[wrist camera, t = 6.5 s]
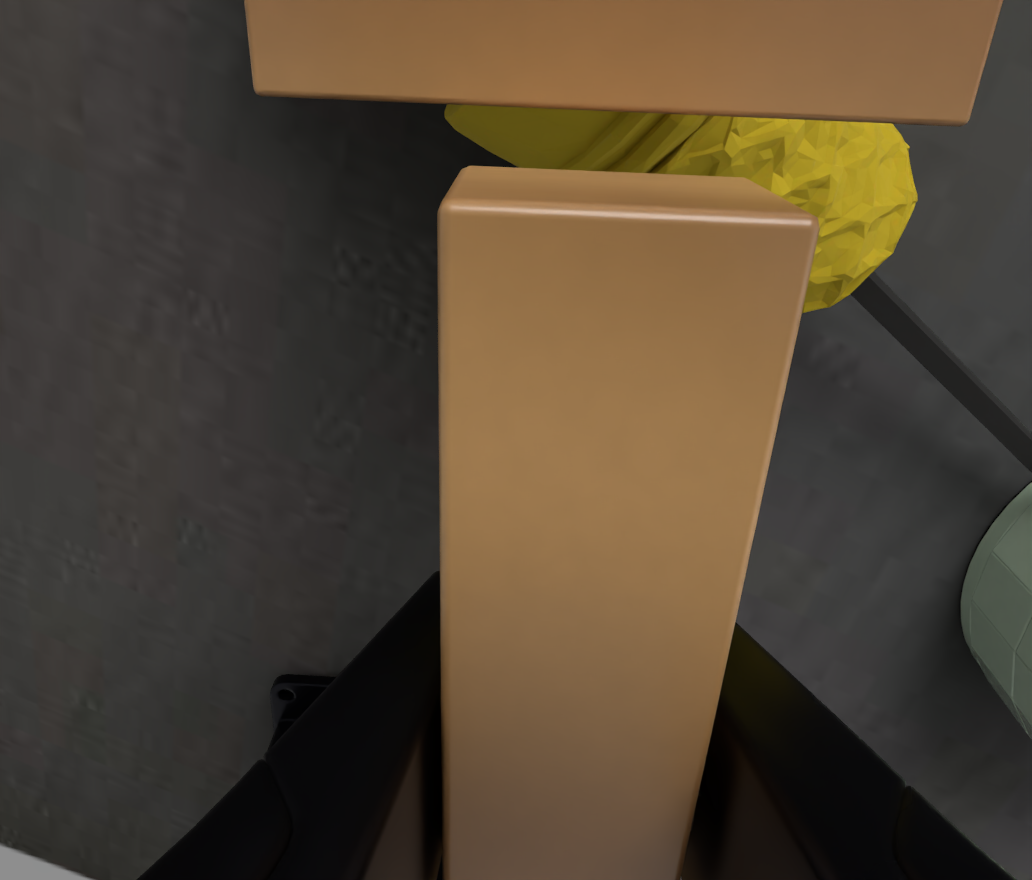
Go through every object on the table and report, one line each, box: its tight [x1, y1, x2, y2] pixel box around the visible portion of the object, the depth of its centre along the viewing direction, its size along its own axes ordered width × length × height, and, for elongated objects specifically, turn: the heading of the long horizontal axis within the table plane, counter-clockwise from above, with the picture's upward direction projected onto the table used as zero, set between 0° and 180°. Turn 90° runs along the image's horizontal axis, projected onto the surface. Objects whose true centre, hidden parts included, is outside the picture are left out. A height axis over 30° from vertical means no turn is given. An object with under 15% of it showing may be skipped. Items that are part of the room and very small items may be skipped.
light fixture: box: [444, 104, 1032, 472], centre depth 16 cm, size 6×6×30 cm
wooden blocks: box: [244, 0, 1003, 880], centre depth 8 cm, size 15×5×7 cm, turn 178°
